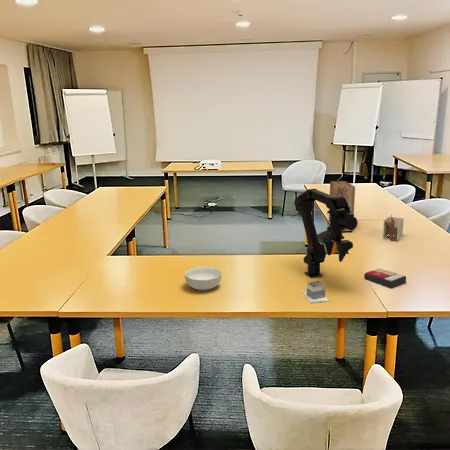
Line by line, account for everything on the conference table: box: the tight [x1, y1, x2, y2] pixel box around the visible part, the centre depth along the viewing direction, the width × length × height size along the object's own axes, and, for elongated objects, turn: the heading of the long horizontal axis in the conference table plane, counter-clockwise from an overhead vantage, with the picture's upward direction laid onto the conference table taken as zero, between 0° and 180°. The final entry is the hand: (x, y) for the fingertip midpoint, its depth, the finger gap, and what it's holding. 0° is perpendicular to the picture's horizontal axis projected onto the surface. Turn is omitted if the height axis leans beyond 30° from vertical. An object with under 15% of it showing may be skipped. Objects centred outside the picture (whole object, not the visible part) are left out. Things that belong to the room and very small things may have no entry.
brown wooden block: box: [328, 179, 356, 232], centre depth 294 cm, size 25×9×30 cm, turn 2°
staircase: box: [382, 214, 404, 242], centre depth 269 cm, size 9×11×17 cm
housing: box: [306, 280, 326, 299], centre depth 190 cm, size 6×5×6 cm
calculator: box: [363, 268, 407, 290], centre depth 207 cm, size 11×4×15 cm
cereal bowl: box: [184, 266, 222, 291], centre depth 204 cm, size 17×17×7 cm
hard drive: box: [301, 289, 330, 305], centre depth 192 cm, size 2×8×12 cm
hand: (334, 258), depth 200 cm, fingers open, 9 cm apart
